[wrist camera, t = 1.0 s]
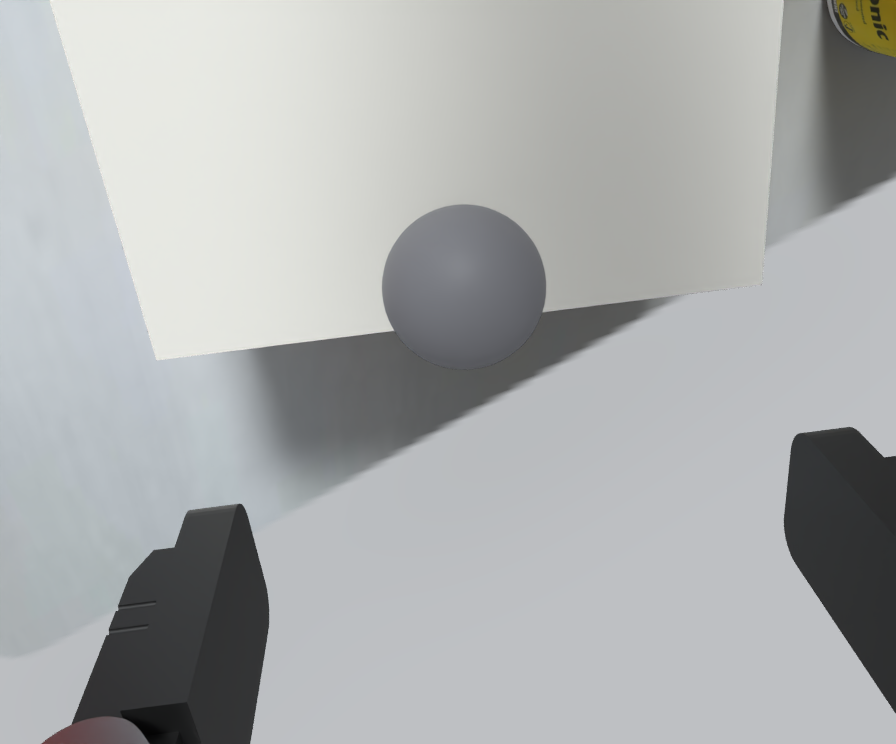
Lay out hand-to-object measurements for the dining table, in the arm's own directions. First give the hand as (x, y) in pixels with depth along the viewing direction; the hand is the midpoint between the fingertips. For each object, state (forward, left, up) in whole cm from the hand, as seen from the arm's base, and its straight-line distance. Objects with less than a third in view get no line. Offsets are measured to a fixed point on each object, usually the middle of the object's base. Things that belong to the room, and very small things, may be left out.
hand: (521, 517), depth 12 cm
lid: (-7, 0, -14) cm, 15 cm away
